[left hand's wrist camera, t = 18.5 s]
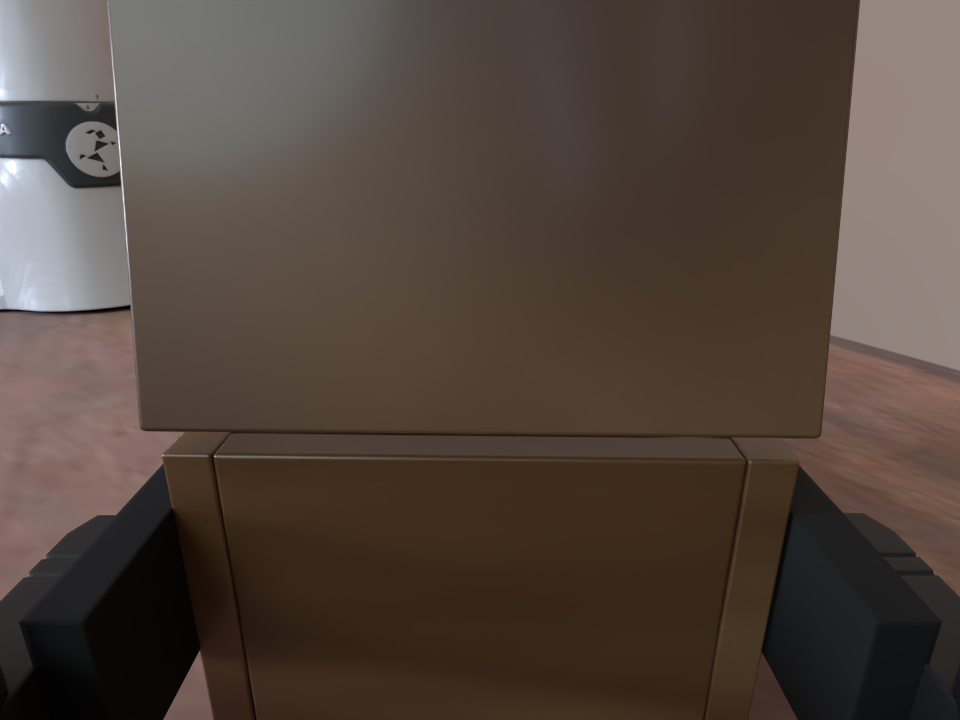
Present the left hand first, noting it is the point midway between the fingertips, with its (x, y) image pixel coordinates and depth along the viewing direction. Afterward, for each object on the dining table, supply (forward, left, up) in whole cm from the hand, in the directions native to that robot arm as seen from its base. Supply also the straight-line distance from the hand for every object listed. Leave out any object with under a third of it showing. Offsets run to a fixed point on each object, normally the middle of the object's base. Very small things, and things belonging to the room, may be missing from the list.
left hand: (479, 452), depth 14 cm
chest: (+2, -1, -6) cm, 7 cm away
